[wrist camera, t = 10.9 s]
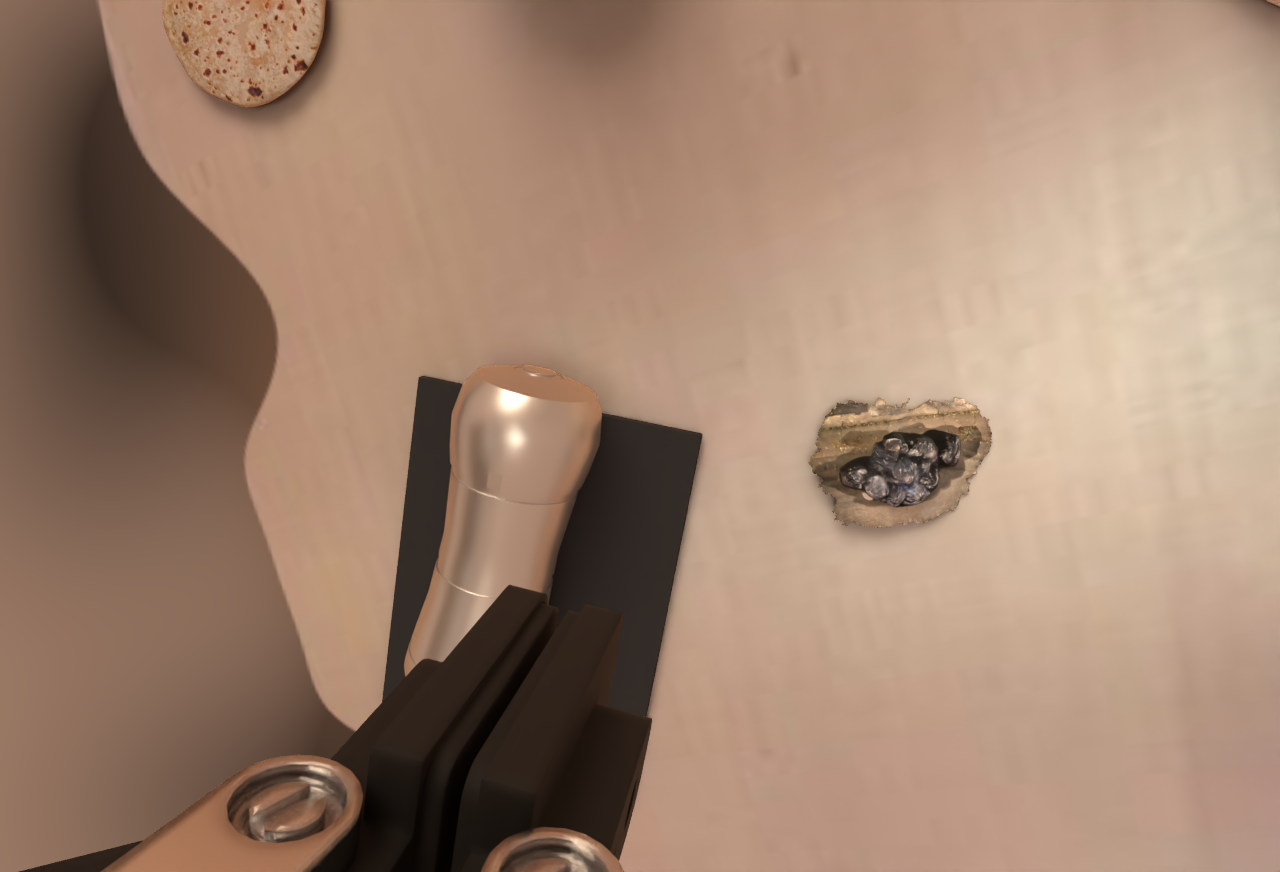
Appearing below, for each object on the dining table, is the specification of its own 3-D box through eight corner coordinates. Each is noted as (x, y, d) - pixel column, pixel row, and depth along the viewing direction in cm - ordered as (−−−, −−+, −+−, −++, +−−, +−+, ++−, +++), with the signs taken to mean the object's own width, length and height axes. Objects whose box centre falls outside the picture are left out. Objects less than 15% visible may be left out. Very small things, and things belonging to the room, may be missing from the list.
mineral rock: (788, 422, 38) (789, 430, 36) (957, 347, 36) (967, 352, 34) (848, 550, 39) (852, 564, 37) (1017, 484, 37) (1029, 495, 35)
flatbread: (228, 137, 39) (214, 133, 38) (145, -13, 38) (129, -20, 37) (363, 46, 37) (352, 41, 36) (280, -114, 36) (267, -124, 36)
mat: (422, 375, 40) (418, 376, 40) (702, 433, 39) (701, 435, 38) (382, 731, 45) (377, 737, 44) (630, 797, 43) (628, 803, 43)
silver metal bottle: (523, 346, 39) (449, 702, 45) (428, 351, 33) (355, 762, 39) (639, 386, 37) (546, 759, 42) (559, 400, 31) (462, 832, 36)
